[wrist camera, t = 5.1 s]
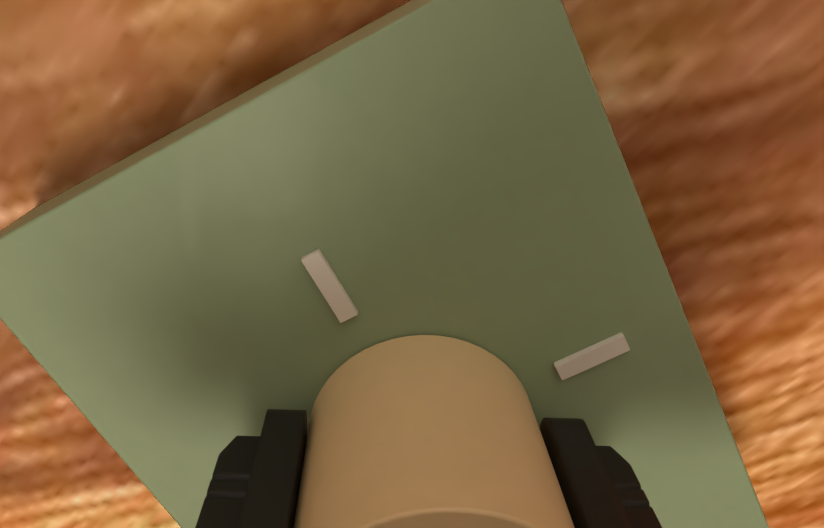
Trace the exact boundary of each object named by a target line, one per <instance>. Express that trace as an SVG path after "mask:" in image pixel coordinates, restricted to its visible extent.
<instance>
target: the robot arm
mask: <svg viewBox="0 0 824 528" xmlns="http://www.w3.org/2000/svg"><path fill="white" fill-rule="evenodd" d="M539 429H540V431H541V434H542V437H543V440H544V443H545V445H546V448H547V451H548V454H549V457H550V460H551V462H552V465H553V468H554V471H555V474H556V476H557V479H558V482H559V485H560V488H561V491H562V493H563V496H564V499H565V502H566V505H567V508H568V510H569V513H570V516H571V519H572V522H573V524H574V527H575V528H662V526H661V524H660V522H659V520H658V518H657V516H656V514H655V512H654V510H653V508H652V507H650V505H649V503H650V502H649V500H648V498H647V496H646V494H645V492H644V491H643V489H641V485H640V483H639V481H638V479H637V477H636V475H635V473H634V471H633V469H632V467H631V465H630V464H629V463H628V462H627V461H626V460H625V459H624V458H623V457H622V456H621V455H620V454H619V453H617V452H616V451H615V450H614V449H613V448H612V447H611V446H596V445H595V443H594V441H593V438H592V436H591V434H590V432H589V430H588V427H587V425H586V423H585V421H584V420H583V419H578V418H543V419H542V421H541V424H540V428H539ZM306 442H307V411H306V410H285V409H268V410H267V412H266V416H265V420H264V424H263V428H262V432H261V436H236V437H235V438H234V439H233V440H232V441H231V442H230V443H229V444H228V445H227V446H226V447H225V448H224V449H223V451H222V452H221V453H220V454H219V456H218V459H217V462H216V465H215V469H214V472H213V475H212V479H211V481H210V484H209V487H208V490H207V495H206V497H205V499H204V502H203V506H202V509H201V512H200V515H199V518H198V521H197V524H196V527H195V528H293V526H294V520H295V513H296V507H297V500H298V494H299V487H300V481H301V474H302V468H303V461H304V455H305V448H306Z"/></svg>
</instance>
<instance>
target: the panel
mask: <svg viewBox="0 0 824 528" xmlns="http://www.w3.org/2000/svg"><path fill="white" fill-rule="evenodd" d="M0 319H1V320H2V321H3V322H4V323H5V324H6V326H7V327H8V328H9V329H10V330H11V331H12V333H13V334H14V335H15V336H16V337H17V338H18V339H19V341H20V342H21V343H22V344H23V345H24V346H25V348H26V349H27V350H28V351H29V352H30V353H31V354H32V356H33V357H34V358H35V359H36V360H37V361H38V363H39V364H40V365H41V366H42V367H43V368H44V369H45V371H46V372H47V373H48V374H49V375H50V376H51V378H52V379H53V380H54V381H55V382H56V383H57V384H58V386H59V387H60V388H61V389H62V390H63V391H64V393H65V394H66V395H67V396H68V397H69V398H70V399H71V401H72V402H73V403H74V404H75V405H76V406H77V408H78V409H79V410H80V411H81V412H82V413H83V414H84V416H85V417H86V418H87V419H88V420H89V421H90V423H91V424H92V425H93V426H94V427H95V428H96V429H97V431H98V432H99V433H100V434H101V435H102V436H103V438H104V439H105V440H106V441H107V442H108V443H109V444H110V446H111V447H112V448H113V449H114V450H115V451H116V453H117V454H118V455H119V456H120V457H121V458H122V460H123V461H124V462H125V463H126V464H127V465H128V466H129V468H130V469H131V470H132V471H133V472H134V473H135V475H136V476H137V477H138V478H139V479H140V480H141V481H142V483H143V484H144V485H145V486H146V487H147V488H148V490H149V491H150V492H151V493H152V494H153V495H154V496H155V498H156V499H157V500H158V501H159V502H160V503H161V505H162V506H163V507H164V508H165V509H166V510H167V511H168V513H169V514H170V515H171V516H172V517H173V518H174V520H175V521H176V522H177V523H178V524H179V525H180V526H181V528H195V527H196V524H197V521H198V518H199V515H200V512H201V509H202V506H203V502H204V499H205V497H206V495H207V490H208V487H209V484H210V481H211V479H212V475H213V472H214V469H215V465H216V462H217V459H218V456H219V454H220V453H221V452H222V451H223V449H224V448H225V447H226V446H227V445H228V444H229V443H230V442H231V441H232V440H233V439H234V438H235V437H236V436H261V432H262V428H263V424H264V420H265V416H266V412H267V410H268V409H285V410H306V411H307V435H308V429H309V422H310V417H311V412H312V409H313V406H314V403H315V400H316V398H317V396H318V394H319V392H320V390H321V388H322V387H323V386H324V384H325V383H326V381H327V380H328V379H329V377H330V376H331V375H332V374H333V373H334V372H335V371H336V370H337V369H338V368H339V367H340V366H341V365H343V364H344V363H345V362H346V361H348V360H349V359H350V358H351V357H353V356H355V355H356V354H358V353H360V352H361V351H363V350H365V349H367V348H369V347H371V346H373V345H376V344H378V343H381V342H384V341H387V340H391V339H395V338H400V337H405V336H415V335H438V336H445V337H451V338H456V339H459V340H463V341H466V342H469V343H471V344H474V345H476V346H479V347H481V348H483V349H484V350H486V351H488V352H490V353H491V354H493V355H495V356H496V357H497V358H499V359H500V360H501V361H502V362H504V363H505V364H506V365H507V366H508V367H509V368H510V369H511V370H512V371H513V372H514V373H515V375H516V376H517V378H518V379H519V380H520V382H521V383H522V385H523V387H524V389H525V391H526V393H527V395H528V397H529V400H530V403H531V406H532V409H533V412H534V414H535V417H536V420H537V423H538V426H539V428H540V424H541V421H542V419H543V418H578V419H583V420H584V421H585V423H586V425H587V427H588V430H589V432H590V434H591V436H592V438H593V441H594V443H595V445H596V446H611V447H612V448H613V449H614V450H615V451H616V452H617V453H619V454H620V455H621V456H622V457H623V458H624V459H625V460H626V461H627V462H628V463H629V464H630V465H631V467H632V469H633V471H634V473H635V475H636V477H637V479H638V481H639V483H640V485H641V489H643V491H644V492H645V494H646V496H647V498H648V500H649V502H650V503H649V505H650V507H652V508H653V510H654V512H655V514H656V516H657V518H658V520H659V522H660V524H661V526H662V528H769V526H768V524H767V521H766V519H765V516H764V514H763V511H762V508H761V506H760V503H759V501H758V498H757V496H756V493H755V491H754V488H753V486H752V483H751V481H750V478H749V475H748V473H747V470H746V468H745V465H744V463H743V460H742V458H741V455H740V453H739V450H738V448H737V445H736V442H735V440H734V437H733V435H732V432H731V430H730V427H729V425H728V422H727V420H726V417H725V415H724V412H723V409H722V407H721V404H720V402H719V399H718V397H717V394H716V392H715V389H714V387H713V384H712V382H711V379H710V376H709V374H708V371H707V369H706V366H705V364H704V361H703V359H702V356H701V354H700V351H699V349H698V346H697V343H696V341H695V338H694V336H693V333H692V331H691V328H690V326H689V323H688V321H687V318H686V316H685V313H684V310H683V308H682V305H681V303H680V300H679V298H678V295H677V293H676V290H675V288H674V285H673V283H672V280H671V277H670V275H669V272H668V270H667V267H666V265H665V262H664V260H663V257H662V255H661V252H660V250H659V247H658V244H657V242H656V239H655V237H654V234H653V232H652V229H651V227H650V224H649V222H648V219H647V217H646V214H645V211H644V209H643V206H642V204H641V201H640V199H639V196H638V194H637V191H636V189H635V186H634V184H633V181H632V178H631V176H630V173H629V171H628V168H627V166H626V163H625V161H624V158H623V156H622V153H621V151H620V148H619V145H618V143H617V140H616V138H615V135H614V133H613V130H612V128H611V125H610V123H609V120H608V118H607V115H606V112H605V110H604V107H603V105H602V102H601V100H600V97H599V95H598V92H597V90H596V87H595V85H594V82H593V79H592V77H591V74H590V72H589V69H588V67H587V64H586V62H585V59H584V57H583V54H582V52H581V49H580V46H579V44H578V41H577V39H576V36H575V34H574V31H573V29H572V26H571V24H570V21H569V19H568V16H567V13H566V11H565V8H564V6H563V3H562V1H561V0H411V1H409V2H407V3H405V4H404V5H402V6H400V7H398V8H396V9H394V10H393V11H391V12H389V13H387V14H385V15H384V16H382V17H380V18H378V19H376V20H375V21H373V22H371V23H369V24H367V25H365V26H364V27H362V28H360V29H358V30H356V31H355V32H353V33H351V34H349V35H347V36H346V37H344V38H342V39H340V40H338V41H336V42H335V43H333V44H331V45H329V46H327V47H326V48H324V49H322V50H320V51H318V52H317V53H315V54H313V55H311V56H309V57H307V58H306V59H304V60H302V61H300V62H298V63H297V64H295V65H293V66H291V67H289V68H287V69H286V70H284V71H282V72H280V73H278V74H277V75H275V76H273V77H271V78H269V79H268V80H266V81H264V82H262V83H260V84H258V85H257V86H255V87H253V88H251V89H249V90H248V91H246V92H244V93H242V94H240V95H239V96H237V97H235V98H233V99H231V100H229V101H228V102H226V103H224V104H222V105H220V106H219V107H217V108H215V109H213V110H211V111H210V112H208V113H206V114H204V115H202V116H200V117H199V118H197V119H195V120H193V121H191V122H190V123H188V124H186V125H184V126H182V127H180V128H179V129H177V130H175V131H173V132H171V133H170V134H168V135H166V136H164V137H162V138H161V139H159V140H157V141H155V142H153V143H151V144H150V145H148V146H146V147H144V148H142V149H141V150H139V151H137V152H135V153H133V154H132V155H130V156H128V157H126V158H124V159H122V160H121V161H119V162H117V163H115V164H113V165H112V166H110V167H108V168H106V169H104V170H103V171H101V172H99V173H97V174H95V175H93V176H92V177H90V178H88V179H86V180H84V181H83V182H81V183H79V184H77V185H75V186H74V187H72V188H70V189H68V190H66V191H64V192H63V193H61V194H59V195H57V196H55V197H54V198H52V199H50V200H48V201H46V202H44V203H43V204H41V205H39V206H37V207H35V208H34V209H32V210H31V211H29V212H28V213H26V214H25V215H23V216H22V217H20V218H19V219H17V220H16V221H15V222H13V223H12V224H10V225H9V226H7V227H6V228H4V229H3V230H1V231H0Z"/></svg>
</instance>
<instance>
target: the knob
mask: <svg viewBox="0 0 824 528" xmlns="http://www.w3.org/2000/svg"><path fill="white" fill-rule="evenodd" d="M293 528H575V527H574V524H573V522H572V519H571V516H570V513H569V510H568V508H567V505H566V502H565V499H564V496H563V493H562V491H561V488H560V485H559V482H558V479H557V476H556V474H555V471H554V468H553V465H552V462H551V460H550V457H549V454H548V451H547V448H546V445H545V443H544V440H543V437H542V434H541V431H540V429H539V426H538V423H537V420H536V417H535V414H534V412H533V409H532V406H531V403H530V400H529V397H528V395H527V393H526V391H525V389H524V387H523V385H522V383H521V382H520V380H519V379H518V378H517V376H516V375H515V373H514V372H513V371H512V370H511V369H510V368H509V367H508V366H507V365H506V364H505V363H504V362H502V361H501V360H500V359H499V358H497V357H496V356H495V355H493V354H491V353H490V352H488V351H486V350H484V349H483V348H481V347H479V346H476V345H474V344H471V343H469V342H466V341H463V340H459V339H456V338H451V337H445V336H438V335H415V336H405V337H400V338H395V339H391V340H387V341H384V342H381V343H378V344H376V345H373V346H371V347H369V348H367V349H365V350H363V351H361V352H360V353H358V354H356V355H355V356H353V357H351V358H350V359H349V360H348V361H346V362H345V363H344V364H343V365H341V366H340V367H339V368H338V369H337V370H336V371H335V372H334V373H333V374H332V375H331V376H330V377H329V379H328V380H327V381H326V383H325V384H324V386H323V387H322V388H321V390H320V392H319V394H318V396H317V398H316V400H315V403H314V406H313V409H312V412H311V417H310V422H309V429H308V435H307V442H306V448H305V455H304V461H303V468H302V474H301V481H300V487H299V494H298V500H297V507H296V513H295V520H294V526H293Z"/></svg>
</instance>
